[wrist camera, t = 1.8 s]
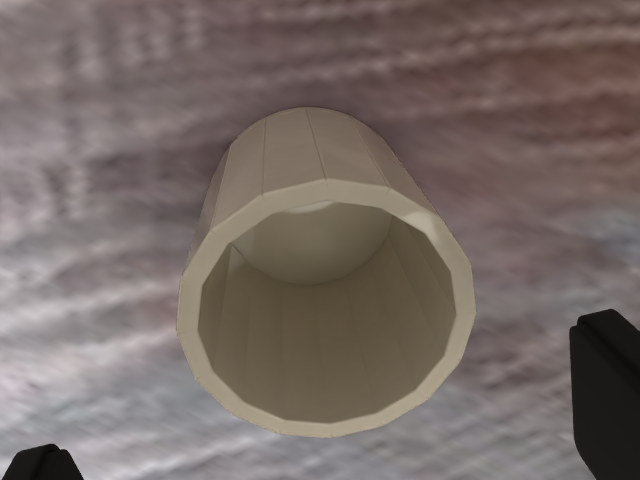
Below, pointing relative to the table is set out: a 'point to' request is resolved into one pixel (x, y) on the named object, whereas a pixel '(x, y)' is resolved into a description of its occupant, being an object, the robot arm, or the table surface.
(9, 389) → the table surface
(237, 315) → the cup
